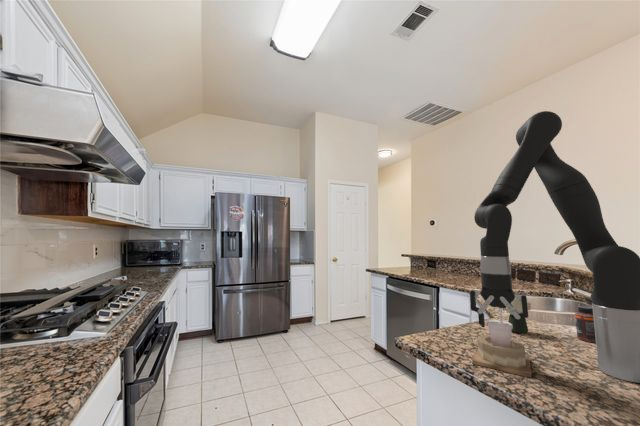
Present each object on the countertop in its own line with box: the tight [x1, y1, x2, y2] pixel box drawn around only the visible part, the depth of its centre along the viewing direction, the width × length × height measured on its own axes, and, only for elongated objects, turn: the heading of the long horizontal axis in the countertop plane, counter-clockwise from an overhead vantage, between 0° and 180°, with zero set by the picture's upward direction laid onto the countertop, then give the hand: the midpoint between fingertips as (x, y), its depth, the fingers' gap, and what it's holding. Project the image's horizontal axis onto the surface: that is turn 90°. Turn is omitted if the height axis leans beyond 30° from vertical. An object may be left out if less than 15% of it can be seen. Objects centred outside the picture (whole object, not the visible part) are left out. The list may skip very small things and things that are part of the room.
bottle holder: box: [471, 334, 532, 379], centre depth 76 cm, size 13×13×6 cm
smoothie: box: [486, 307, 513, 347], centre depth 77 cm, size 6×6×14 cm
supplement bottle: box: [574, 305, 596, 344], centre depth 94 cm, size 6×6×11 cm
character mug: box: [502, 298, 532, 334], centre depth 102 cm, size 11×7×13 cm, turn 90°
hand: (499, 329), depth 77 cm, fingers open, 7 cm apart
